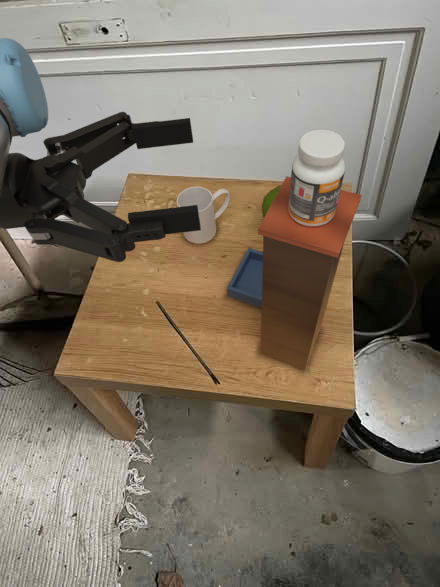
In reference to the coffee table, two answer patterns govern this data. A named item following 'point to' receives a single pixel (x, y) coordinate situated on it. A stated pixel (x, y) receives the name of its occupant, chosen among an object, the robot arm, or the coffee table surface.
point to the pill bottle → (316, 178)
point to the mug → (202, 211)
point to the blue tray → (248, 279)
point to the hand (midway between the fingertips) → (195, 170)
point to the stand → (298, 276)
